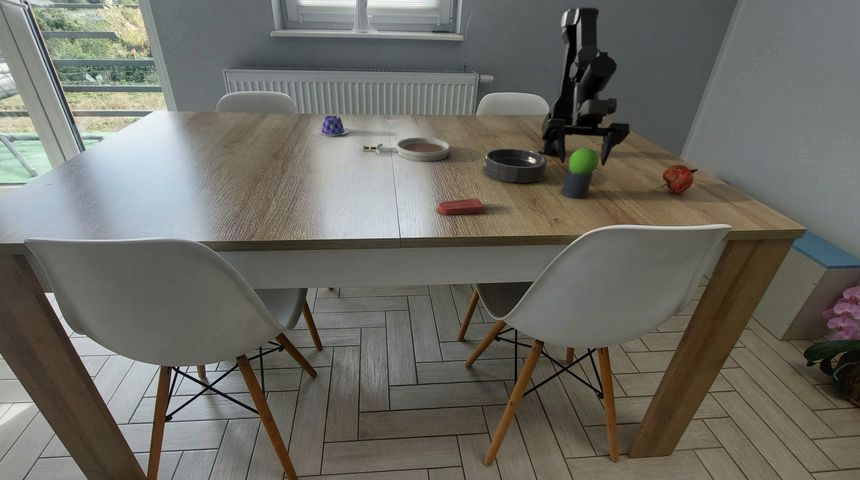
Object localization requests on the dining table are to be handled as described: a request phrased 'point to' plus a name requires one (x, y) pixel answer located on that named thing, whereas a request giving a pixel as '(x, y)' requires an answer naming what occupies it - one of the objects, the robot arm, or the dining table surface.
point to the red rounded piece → (678, 178)
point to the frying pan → (418, 149)
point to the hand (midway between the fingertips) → (583, 163)
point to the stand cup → (576, 184)
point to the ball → (583, 161)
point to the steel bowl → (514, 165)
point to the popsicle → (463, 206)
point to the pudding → (332, 126)
